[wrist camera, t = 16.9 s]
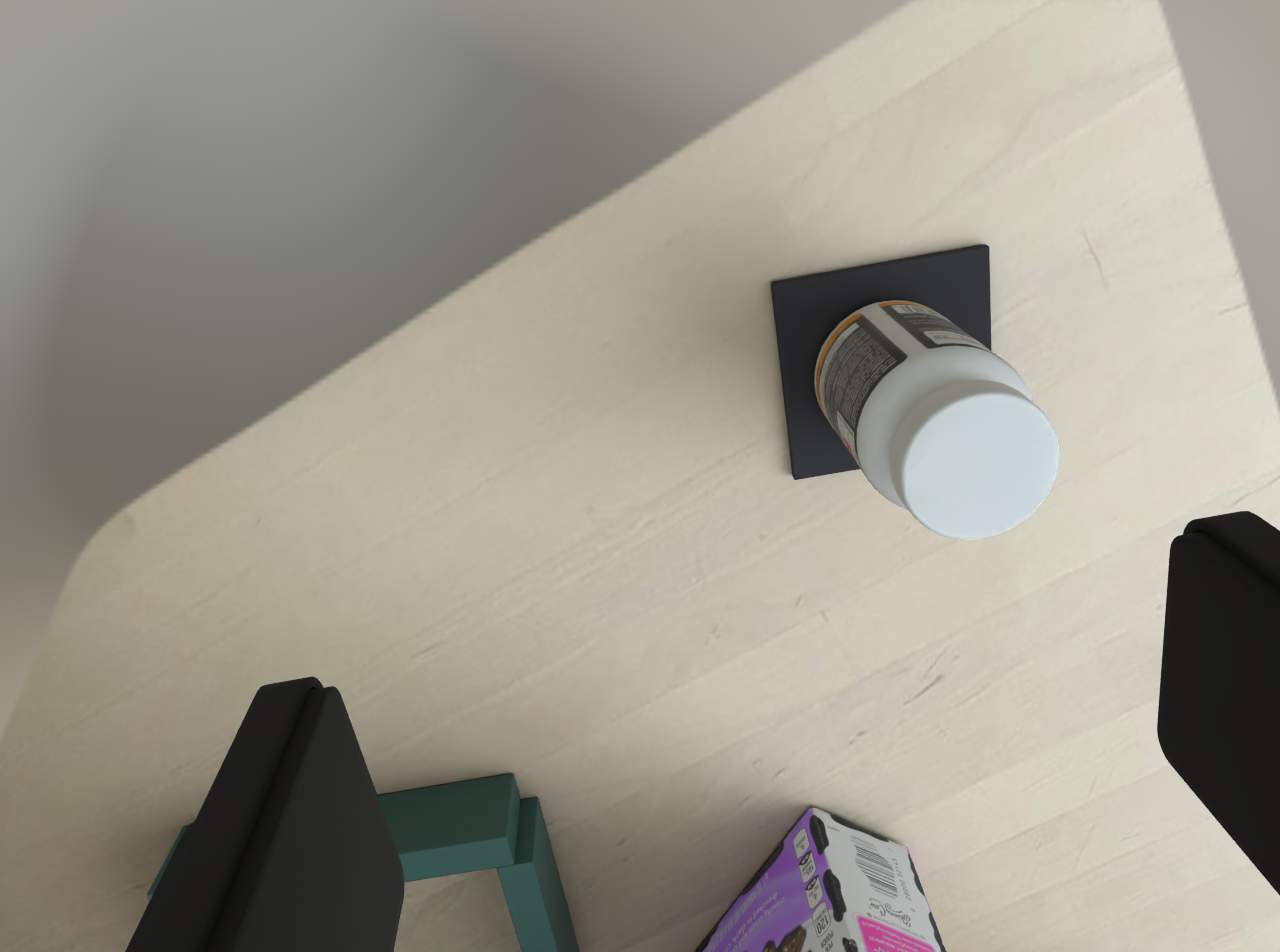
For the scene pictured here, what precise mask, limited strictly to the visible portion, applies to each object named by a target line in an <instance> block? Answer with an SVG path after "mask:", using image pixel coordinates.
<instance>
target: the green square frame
mask: <svg viewBox="0 0 1280 952" xmlns="http://www.w3.org/2000/svg"><path fill="white" fill-rule="evenodd" d="M378 799H379V802H380V805H381V807H382V810H383V813H384V816H385V819H386V821H387V824H388V827H389V830H390V832H391V835H392V838H393V841H394V844H395V846H396V849H397V852H398V855H399V857H400V860H401V864H402V868H403V874H404V882H409V881H415V880H421V879H427V878H434V877H440V876H446V875H452V874H459V873H465V872H471V871H477V870H484V869H490V868H496V867H497V871H498V875H499V878H500V881H501V884H502V888H503V891H504V894H505V898H506V901H507V904H508V908H509V911H510V914H511V917H512V921H513V924H514V927H515V931H516V934H517V937H518V941H519V944H520V947H521V950H522V952H579V948H578V945H577V941H576V937H575V934H574V930H573V926H572V922H571V919H570V915H569V911H568V908H567V904H566V900H565V896H564V893H563V889H562V885H561V882H560V878H559V874H558V870H557V867H556V863H555V859H554V856H553V852H552V848H551V844H550V841H549V837H548V833H547V830H546V826H545V822H544V818H543V815H542V811H541V807H540V804H539V800H538V798H537V797H536V798H530V799H524V800H521V799H520V796H519V792H518V788H517V785H516V781H515V778H514V775H513V774H506V775H500V776H494V777H488V778H482V779H476V780H470V781H463V782H457V783H451V784H445V785H439V786H433V787H427V788H421V789H414V790H408V791H402V792H396V793H390V794H384V795H378ZM187 827H188V826H187ZM187 827H183V828H182V830H181V832H180V834H179V835H178V837H177V839H176V841H175V843H174V845H173V847H172V849H171V851H170V852H169V854H168V856H167V858H166V860H165V862H164V864H163V866H162V867H161V869H160V871H159V873H158V875H157V877H156V879H155V881H154V883H153V884H152V886H151V888H150V890H149V892H148V894H147V897H148V899H149V901H150V900H151V898H152V896H153V894H154V892H155V890H156V888H157V886H158V883H159V881H160V879H161V877H162V875H163V873H164V871H165V869H166V867H167V865H168V863H169V861H170V859H171V857H172V855H173V853H174V851H175V849H176V846H177V844H178V842H179V840H180V838H181V836H182V835H183V833H184V832H185V830H186V829H187Z"/></svg>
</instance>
